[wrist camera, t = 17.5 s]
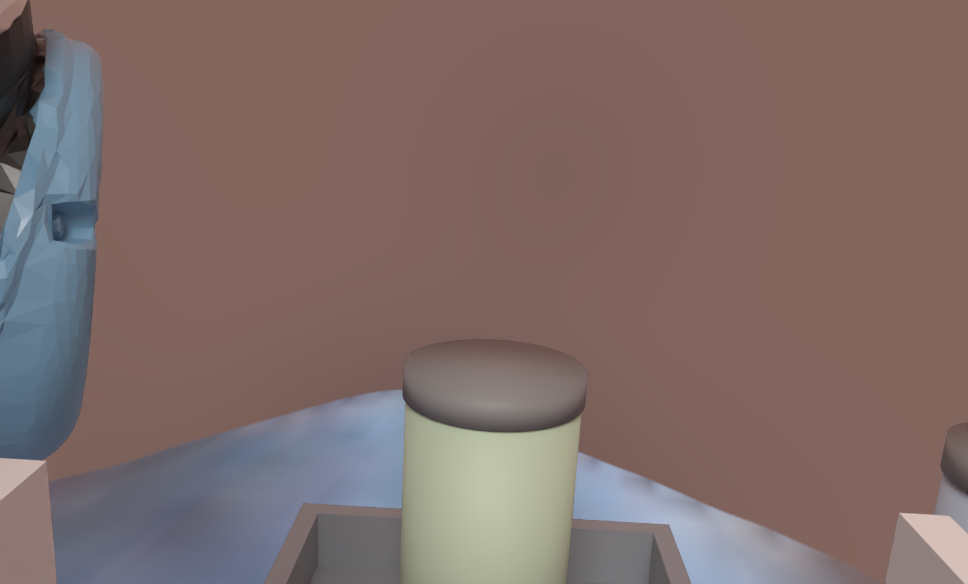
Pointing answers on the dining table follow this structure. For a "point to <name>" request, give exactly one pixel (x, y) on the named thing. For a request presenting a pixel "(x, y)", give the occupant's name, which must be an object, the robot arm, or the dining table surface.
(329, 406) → the dining table surface
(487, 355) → the sage canister
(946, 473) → the gray canister
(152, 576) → the dining table surface
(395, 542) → the tray
